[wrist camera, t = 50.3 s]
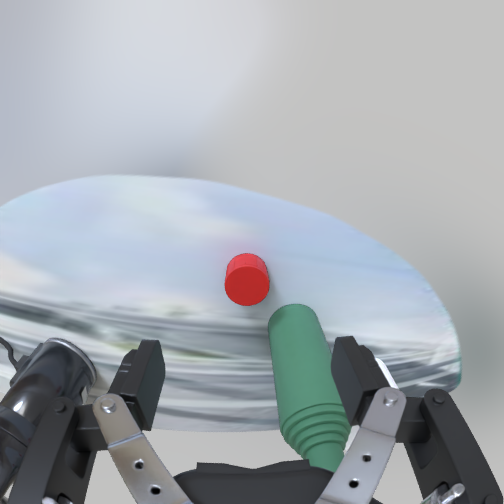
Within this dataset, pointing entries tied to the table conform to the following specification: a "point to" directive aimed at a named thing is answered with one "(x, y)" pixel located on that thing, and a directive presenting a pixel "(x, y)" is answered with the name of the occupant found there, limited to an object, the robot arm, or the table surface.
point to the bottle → (307, 388)
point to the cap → (246, 280)
